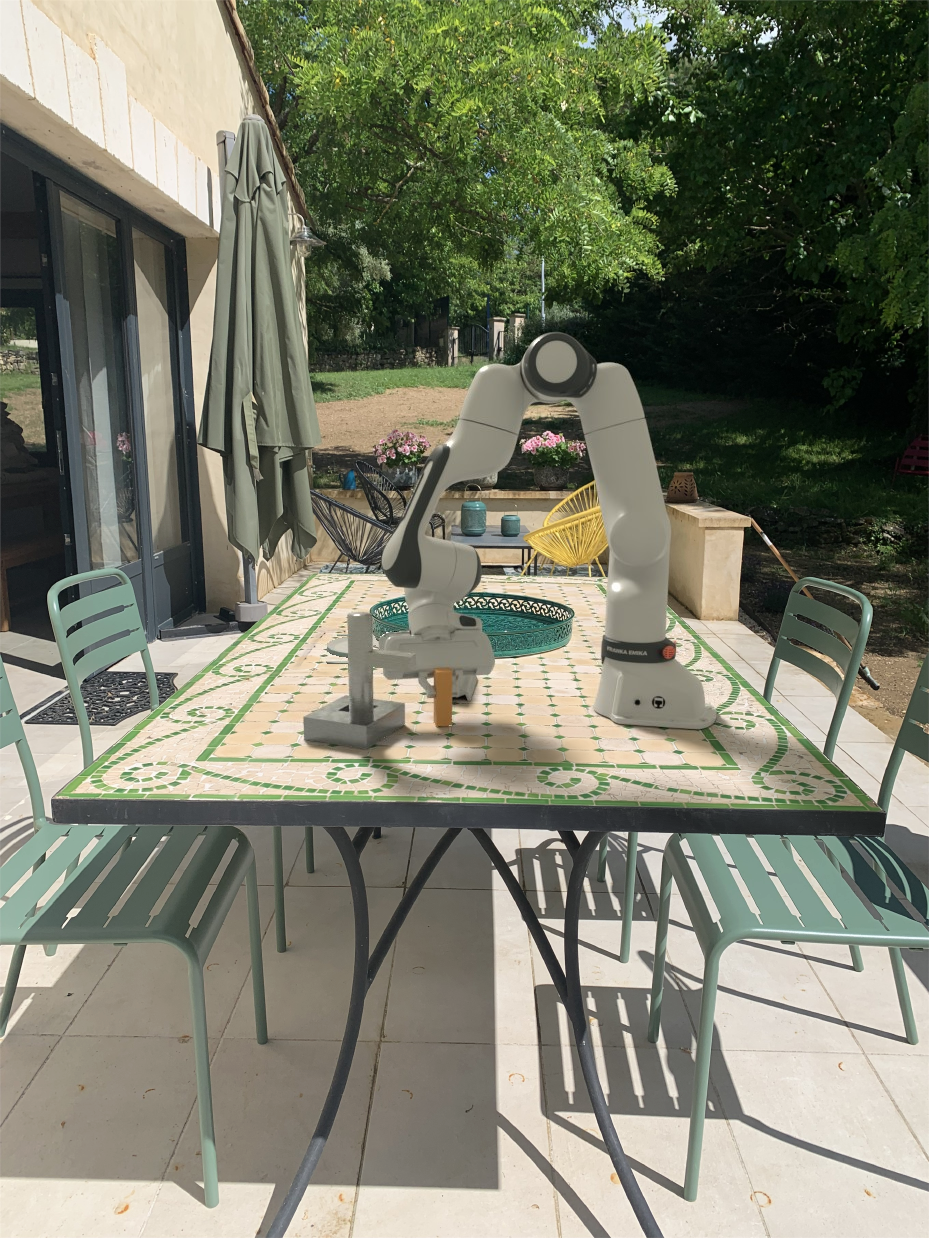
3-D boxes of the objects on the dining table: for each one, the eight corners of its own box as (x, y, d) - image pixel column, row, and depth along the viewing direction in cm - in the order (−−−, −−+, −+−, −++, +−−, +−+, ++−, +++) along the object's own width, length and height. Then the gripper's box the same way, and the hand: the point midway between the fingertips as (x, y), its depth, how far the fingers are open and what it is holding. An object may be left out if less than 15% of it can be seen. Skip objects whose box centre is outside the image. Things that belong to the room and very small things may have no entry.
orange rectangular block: (448, 721, 162) (449, 667, 160) (452, 726, 159) (452, 671, 157) (433, 722, 162) (433, 668, 160) (436, 727, 159) (436, 672, 157)
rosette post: (443, 730, 157) (443, 606, 153) (407, 756, 145) (407, 621, 140) (346, 716, 165) (343, 597, 160) (304, 739, 152) (300, 611, 147)
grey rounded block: (470, 701, 174) (453, 653, 173) (447, 708, 175) (430, 660, 174) (477, 678, 191) (462, 634, 189) (456, 684, 191) (441, 641, 190)
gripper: (378, 622, 161) (386, 690, 154) (489, 618, 166) (502, 684, 158) (376, 641, 167) (383, 707, 159) (483, 637, 171) (495, 701, 163)
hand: (443, 696), depth 159 cm, fingers closed on orange rectangular block, 3 cm apart
